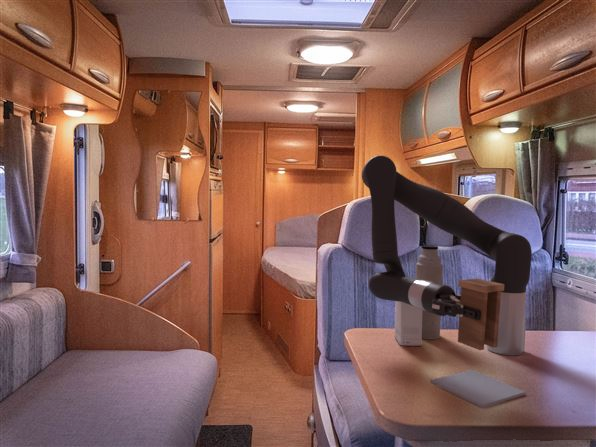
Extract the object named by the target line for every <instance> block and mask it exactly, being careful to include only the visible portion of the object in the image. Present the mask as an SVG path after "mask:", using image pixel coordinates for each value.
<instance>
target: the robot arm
mask: <svg viewBox="0 0 596 447" xmlns="http://www.w3.org/2000/svg"><path fill="white" fill-rule="evenodd" d="M361 179H362V180H361V181H362V182H363V183H364V185H365V186H366V187H367V188H368V189H369V190H368V191H369V195H370V200H371V248H372V249H371V250H372V258H373V261H374V263H376V264H382V265H383V266H384V268H385V271H382V272H377V273H374V274H372V276H371V277H370V278H369V281H368V288H369V291H370V293H371V294H372V295H373V296H374V297H376V298H378V299H380V300H385V301H391V302H392V301H393V302H395V301H399V302H404V303H406V304H409V305H412V306H415V307H417V308H419V309H421V310H424V311H427V312H430V313H433V314H436V315H439V316H441V317H445V316H449V317H452V318H455V317H457V316H458V317H459V316H460V317H464V316H465V317H468V318H472V319H475V320H480V317H481V311H480V310H479V309H475V308H472V307H468V306H465V305H463V304H460V299H461V294H456V292H455V290H454V289H453V288H452V287H451V286H450V285H448V284H447V285H446V284H443V283H442V284H439V283H435V282H431V281H426V280H419V279H415V278H414V277H411V276H409V277H407V276H406V274H405V271H404V268H403V265H402V263H401V259H400V256H399V249H398V236H397V228H396V216H395V214H396V213H395V201H396V202H398V203H399V204H401V205H402V206H404V207H405V208H406V209H408V210H410V211H411V212H412V213H413V214H415V215H417V216H418V217H421V219H423V220H425V221H426V222H428V223H429V224H431V225H433V226H435V227H437V228H438V229H440V230H442V231H444V232H446V233H448V234H450V235H452V236H455V237H457V238H459V239H461V240H464V241H466V242H468V243H470V244H471V245H473V246H474V247H476V248H478V249H479V250H480V251H482V252H483V253H484V254H486V255H487V256H488V257H490V258H491V259H492V260H493V261H494V262H495V266H494V275H493V276H492V278H490V280H489V281H491V282H496V283H501V284H504V291H501V300H500V314H499V328H498V342H497V347H494V348H493V347H490V346H488V345H486V349H487V350H489V351H491V352H493V353H495V354H500V355H505V356H520V355H522V354H523V352H524V351H525V346H526V344H525V343H526V325H527V324H526V323H527V318H526V317H525V316H526V301H527V300H526V296H527V295H526V294H527V293H526V292H527V286H528V284H529V283H530V282H529V281H530V278H531V269H532V259H533V258H532V257H533V255H532V254H533V252H532V247H531V243H530V241H529V240H528V239H527V238H526V237H525V236H523V235H521V234H517V233H513V232H508V231H506V230H504V229H500V228H498V227H496V226H494V225H492V224H490V223H488V222H486V221H485V220H483V219H482V218H480V216H477V215H476V214H475V213H474V212H473V211H472V210H471V209H470V208H468V207H467V206H466V205H465V204H463V203H462V202H460V201H459V200H457V199H456V198H454V197H452V196H450V195H448V194H447V193H445V192H443V191H441V190H439V189H435V188H433V187H430V186H428V185H424V184H421V183H417V182H415V181H413V180H411V179H410V178H407V177H406V176H404V175H403V174H401V173H399V172H398V171H397V167H396V164H395V162H394V161H393V160H392V158H390V157H388V156H386V155H375V156H373V157H371V158H369V160H367V162H366V163H365V165H364V166H363V167H362V171H361Z"/></svg>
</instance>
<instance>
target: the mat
mask: <svg viewBox="0 0 596 447" xmlns="http://www.w3.org/2000/svg"><path fill="white" fill-rule="evenodd" d="M430 383H431V384H433V385H434V386H435V385H436V386H437V387H439V388H441V389H443V390H446V391H447V392H449V393H452V394H454V395H455V396H457V397H460V398H461V399H464V400H466V401H468V402H470V403H472V404H474V405H476V406H477V407H480V408H482V409H483V408H486V407H491V406H493V405H496V404H499V403H502V402H506V401H509V400H513V399H515V398H519V397H522V396H525V395H526V391H524V390H521V389H520V388H517V387H515V386H512V385H510V384H507V383H505V382H502V381H501V380H497V379H495V378H492V377H491V376H488V375H486V374H484V373H481V372H478V371H476V370H474V369H470V370H465V371H463V372H458V373H454V374H449V375H446V376H441V377H437V378H433V379H430Z"/></svg>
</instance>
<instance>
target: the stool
mask: <svg viewBox="0 0 596 447" xmlns="http://www.w3.org/2000/svg"><path fill="white" fill-rule="evenodd" d="M458 287H460V295H461V299H460V304H463V305H465V306H468V307H472V308H475V309H479V310H480V311H481V317H480V320H475V319H472V318H468V317H465V316H464V317H460V316H458V319H459V320H458V331H457V332H458V333H457V342H458V343H460V344H463V345H465V346H468V347H471V348H473V349H475V350H478V351H482V350H483V351H484V350H485V346H487V345H488V346H490V347H493V348H494V347H497V342H498V328H499V314H500V300H501V291H504V284H501V283H496V282H491V281H490V280H487V279H482V278H472V279H471V278H470V279H459V280H458Z"/></svg>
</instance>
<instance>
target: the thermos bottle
mask: <svg viewBox="0 0 596 447" xmlns="http://www.w3.org/2000/svg"><path fill="white" fill-rule="evenodd" d="M421 249H422V250H421V254H420V255H418V259H417V260H418V261H417V262H416V263H415V279H419V280H426V281H431V282H435V283H439V284H443V274H444V272H443V270H444V265H443V264H442V263H441V261H442V257H441V256H439V246H437V245H430V244H427V245H421ZM441 317H442V316H439V315H436V314H433V313H430V312H427V311H424V310H422V339H423V340H437V339H439V338H440V337H441V320H442V319H441Z"/></svg>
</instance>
